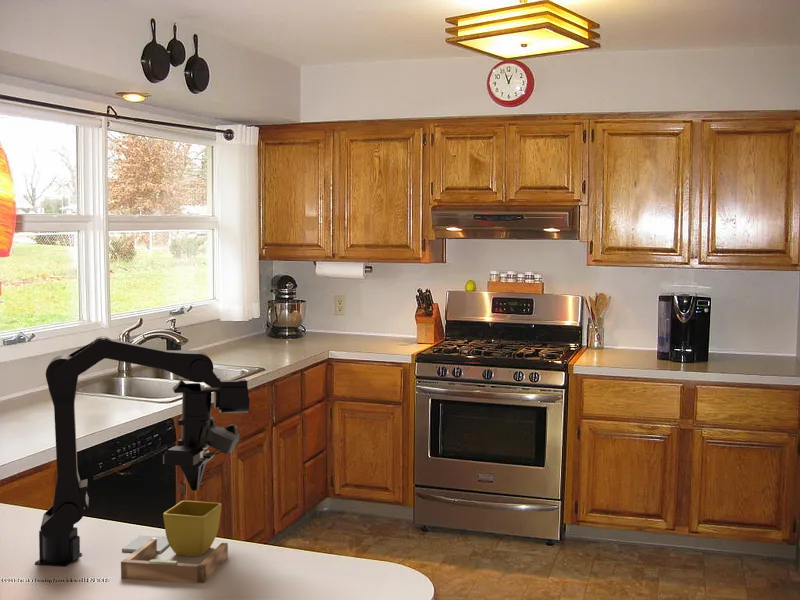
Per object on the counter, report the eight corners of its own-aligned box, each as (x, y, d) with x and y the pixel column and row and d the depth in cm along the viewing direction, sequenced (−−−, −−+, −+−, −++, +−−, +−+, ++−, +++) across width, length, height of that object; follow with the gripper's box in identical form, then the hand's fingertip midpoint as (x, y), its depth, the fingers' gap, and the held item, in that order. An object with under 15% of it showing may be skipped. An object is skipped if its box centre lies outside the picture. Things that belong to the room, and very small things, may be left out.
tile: (121, 551, 168) (121, 547, 168) (139, 538, 176) (139, 534, 176) (160, 553, 167) (160, 550, 167) (176, 540, 175) (176, 536, 175)
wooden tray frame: (151, 553, 167) (150, 536, 167) (227, 558, 165) (227, 541, 165) (121, 577, 155) (120, 559, 155) (203, 583, 153) (203, 565, 152)
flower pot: (204, 562, 163) (203, 516, 163) (162, 558, 165) (161, 513, 164) (222, 546, 172) (222, 503, 171) (182, 543, 173) (182, 500, 173)
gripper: (217, 425, 160) (216, 506, 161) (250, 408, 179) (248, 481, 179) (162, 421, 162) (160, 501, 163) (199, 405, 180) (198, 477, 181)
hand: (195, 490), depth 171 cm, fingers closed
